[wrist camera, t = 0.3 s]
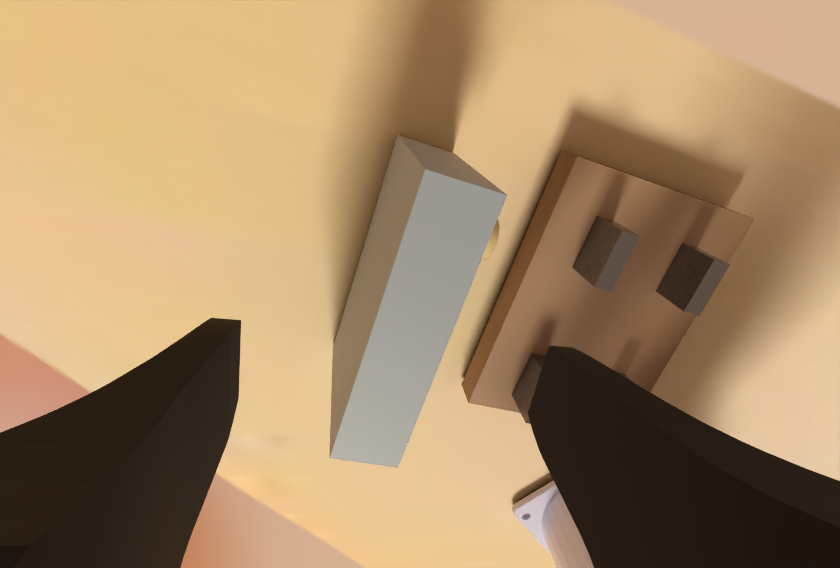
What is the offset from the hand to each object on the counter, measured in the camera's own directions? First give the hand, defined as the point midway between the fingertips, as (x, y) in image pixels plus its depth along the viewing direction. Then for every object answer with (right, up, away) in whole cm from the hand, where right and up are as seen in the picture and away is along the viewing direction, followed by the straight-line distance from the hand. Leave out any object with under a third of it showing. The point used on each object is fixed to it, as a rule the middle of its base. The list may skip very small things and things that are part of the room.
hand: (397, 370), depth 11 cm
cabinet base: (+9, +1, +12) cm, 15 cm away
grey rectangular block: (-1, +3, +10) cm, 10 cm away
